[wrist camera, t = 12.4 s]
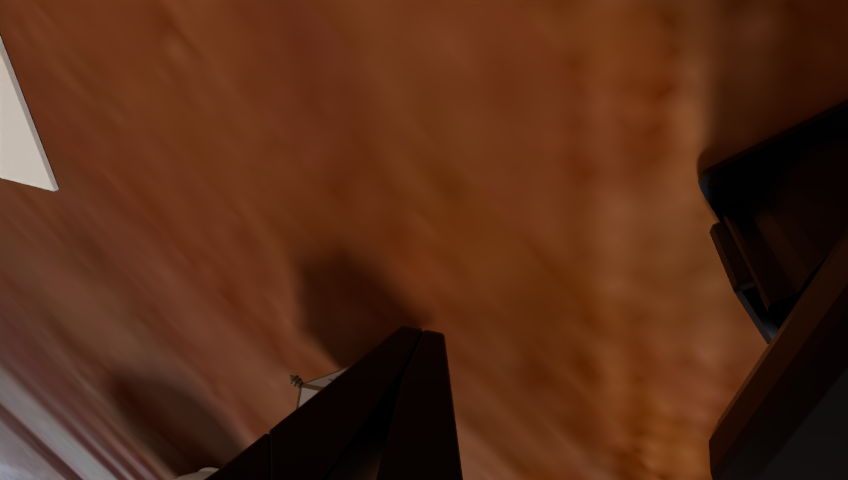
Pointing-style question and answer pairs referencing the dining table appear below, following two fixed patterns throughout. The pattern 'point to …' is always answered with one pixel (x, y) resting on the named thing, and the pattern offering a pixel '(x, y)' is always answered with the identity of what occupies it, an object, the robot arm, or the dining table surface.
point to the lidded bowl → (198, 474)
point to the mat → (19, 135)
